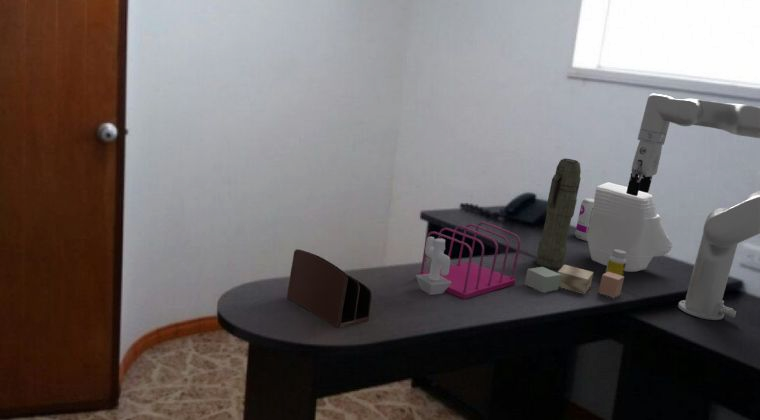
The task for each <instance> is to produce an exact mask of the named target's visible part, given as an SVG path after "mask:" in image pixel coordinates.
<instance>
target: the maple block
mask: <svg viewBox="0 0 760 420" xmlns="http://www.w3.org/2000/svg"><path fill="white" fill-rule="evenodd" d="M557 273H558V274H561V277H560V282H559V287H561V288H560V289H563V288H565V289H564V290H566V289H570V290H574V291H578V292H582V293H586V294H587V292H588V291H589V290H590V288H591V285H592V282H593V277H594V276H593V275H594V273H595V272H594V271H591V270H586V269H584V268H579V267H576V266H572V265H567V264H563V265H562V268H560V269H558V271H557ZM559 287H558V288H559ZM589 287H590V288H589ZM570 290H569V291H570ZM587 290H588V291H587ZM574 291H573V292H574ZM586 291H587V292H586Z"/></svg>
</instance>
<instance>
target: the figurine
mask: <svg viewBox="0 0 760 420" xmlns="http://www.w3.org/2000/svg"><path fill="white" fill-rule="evenodd" d="M425 242H426V247H425V246H424V248H425V254H426V257H427V258H430V259H431V262H430V269H429V271H430V273H429V274H422V275H417V274H415V278H416V280H417V283H418V286H419V288H420V290H421V291H423V292H425V293H427V294H428V295H430V296H431V295H432V296H433V295H441V294H444V293H445V292H446V291H445V290H446V289H447V288H448V287H449V286H450V284H451V283H452V282H451V281H449V280H447V279H445V278H444V277H442V276H440V270H441V275H444V276H446V275H448V273H449V268H450V266H451V256H450V257H449V256H448V254H445V253H444V252H445V250H446V239H445V238H443V237H440V239H438V238H435V237H434V236H429V237H428V238H427V241H426V240H425Z"/></svg>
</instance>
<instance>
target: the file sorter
mask: <svg viewBox="0 0 760 420" xmlns="http://www.w3.org/2000/svg"><path fill="white" fill-rule="evenodd" d="M480 225H486V226H489V227H491V228H494V229H496V230H499V231H501V232H504V233H507V234H509V235H512V236H514V238H516V240H517V248H516V252H515V253H516V254H515V257H514V261H513V267H512V269H511V270H512V271H511V274H510V276H507V275H505V273H504V272H505V267H506V263H507V259H508V255H509V254H508V253H509V248H510V243H509V240H508V239H507V237H506V236H505V235H502V234H500V233H497V232H494V231H492V230H490V229H487V228H484V227H481V226H480ZM469 227H473V228H475V230H474V229H472V228H469ZM460 228H462V229H464V230H463V232H460V231H458V229H460ZM478 229H480V230H482V231H485V232H486V233H489V234H492V235H495V236H498V237H499V238H501V239H503V240H504V241H505V243H506V247H505V254H504V258H503V264H502V268H501V272H498V271H496V270H494V269H495V266H496V261H497V256H498V253H499V244H498V242H497V240H495V239H494V238H493V237H490V236H488V235H486V234H484V233H481V232H478ZM444 231H449V232H452V237H451V236H449V235H446V234H443V232H444ZM467 231H470V232H471V233H473V234H474V235H473V236H471V235H468V234H467ZM432 234H434V235H438V236H437V239H441V238H444V239H445V238H446V239H448V240H451V241H450V246H449V251H448V254H447V256H449V257H450V258H451V256H452V255H451V254H452V250H453V245H454V242H456V243H458V244H461V245H460V248H459V249H460V251H459V255H458V256H459V257H458V260H457V261H458V262H457V264H452V265H450V268H449V273H448V275H446V276H444V275H441V270H440V276H442V277H444V278H445V279H447V280H449V281H451V282H452V283H451V284H450V286H449V287H448V288H447V289H446V290H445V291H444V292H447V293H449V294H452V295H453V296H455V297H458V298H461V299H462V300H466V299H469V298H473V297H476V296H480V295H484V294H487V293H489V292H493V291H496V290H500V289H503V288H507V287H511V286H515V284H516V278H514V275H515V270H516V266H517V262H518V257H519V254H520V249H521V239H520V236H519V235H517V234H516V233H514V232H512V231H509V230H507V229H504V228H502V227H499V226H496V225H494V224H491V223H488V222H485V221H480V222H479V223H477V224H474V223H469V224H467V225H466V226H464V225H457V226H455V227H454V229H452V228H449V227H443V228H441V229H440V230H439V232H437V231H430V232H428V233H427V235H426V238H425V244H424V248H423V257H422V260H421V261H422V263H421V269H420V272H417V274H416V275H422V274H429V273H430V270H425V269H424V268H425V263H426V257H427V256H426V254H425V247H426V241H427V238H428V237H431V235H432ZM456 234H458V235H460V236H462V240H458V239H457V238H455V236H456ZM477 235H479V236H481V237H484V238H486V239H488V240H489V241H491V242H493V244H494V246H495V251H494V257H493V260H492V261H493V262H492V265H491V269H490V268H488V267H486V266H483V262H484V255H485V245H484V243H483V242H482V240H480V239H479V238H477ZM465 238H468V239H471V240H472V245H471V246H470V245H469V243H466V242H465V240H466V239H465ZM476 242H477V243H479V244H480V246H481V256H480V260H479V261H480V262H479V264H477V263H475V262H472V259H473V254H474V249H475V243H476ZM464 246H466V247H467V248H468V250H469V259H468V261H465V262H462V263H461V259H462V255H463V250H464ZM424 270H425V271H424Z"/></svg>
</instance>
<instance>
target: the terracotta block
mask: <svg viewBox="0 0 760 420" xmlns="http://www.w3.org/2000/svg"><path fill="white" fill-rule="evenodd" d="M600 279H601V280H600V284H599V288H598V292H601V293H605V294H607V295H611V296H614V297H615V296H617V295H619V294H620V295H621V292H622V287H623V284H624V280H625V276H624V275H623V276H621V275H618V274H615V273H611V272H606V271H605V273H603V274H602V276H601V278H600ZM620 295H619V296H620Z"/></svg>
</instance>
